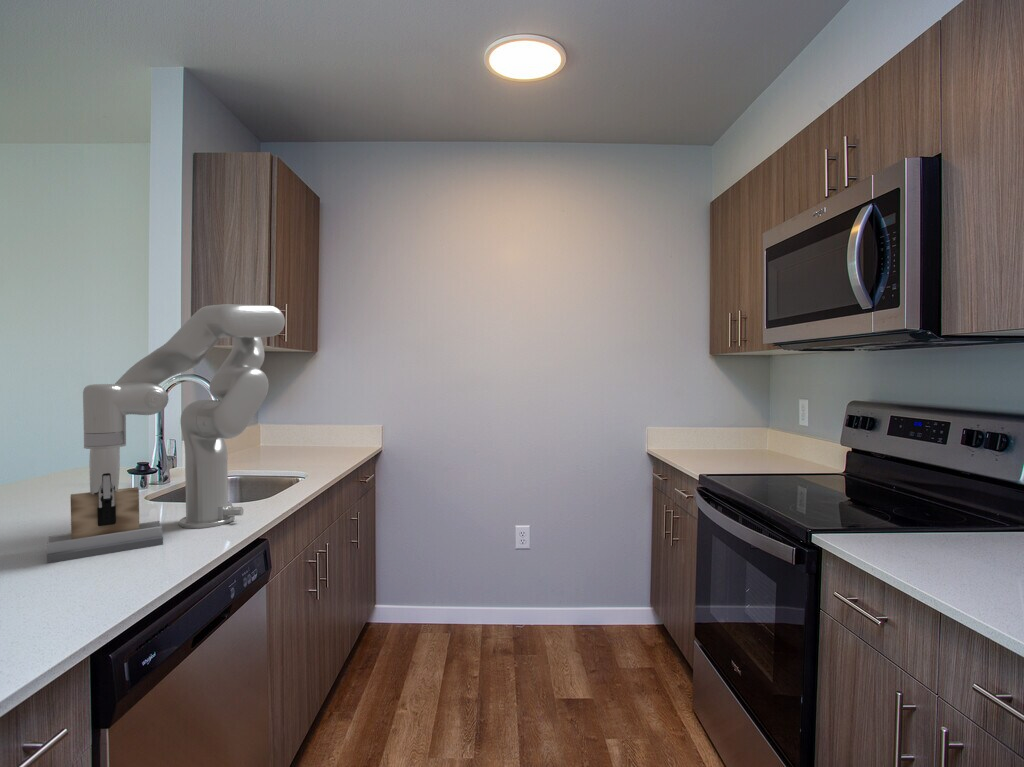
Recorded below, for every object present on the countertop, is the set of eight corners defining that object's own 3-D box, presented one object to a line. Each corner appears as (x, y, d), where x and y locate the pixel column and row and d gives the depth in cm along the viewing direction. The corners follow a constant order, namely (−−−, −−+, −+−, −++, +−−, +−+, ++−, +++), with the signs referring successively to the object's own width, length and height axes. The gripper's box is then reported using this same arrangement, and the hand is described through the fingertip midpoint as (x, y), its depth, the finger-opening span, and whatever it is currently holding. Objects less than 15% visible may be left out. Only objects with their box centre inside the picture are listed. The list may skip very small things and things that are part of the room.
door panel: (138, 530, 127) (137, 487, 127) (139, 533, 124) (138, 489, 124) (71, 540, 120) (70, 494, 119) (71, 543, 117) (70, 496, 117)
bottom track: (158, 533, 132) (158, 519, 132) (163, 544, 124) (162, 528, 124) (49, 550, 120) (49, 534, 120) (47, 563, 112) (46, 546, 112)
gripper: (83, 437, 126) (85, 518, 126) (83, 445, 113) (85, 535, 113) (124, 435, 130) (125, 512, 131) (128, 442, 117) (129, 528, 118)
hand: (106, 522), depth 122 cm, fingers closed on door panel, 3 cm apart
